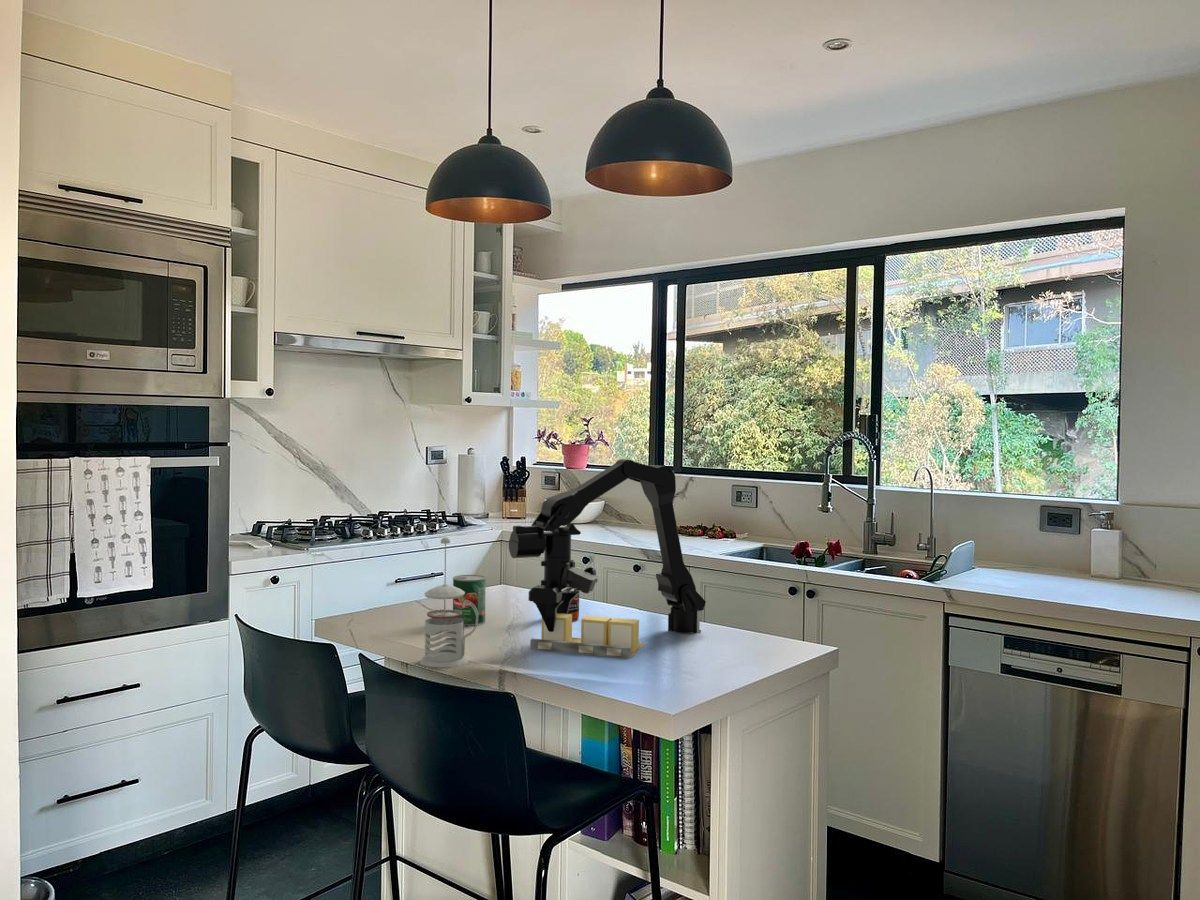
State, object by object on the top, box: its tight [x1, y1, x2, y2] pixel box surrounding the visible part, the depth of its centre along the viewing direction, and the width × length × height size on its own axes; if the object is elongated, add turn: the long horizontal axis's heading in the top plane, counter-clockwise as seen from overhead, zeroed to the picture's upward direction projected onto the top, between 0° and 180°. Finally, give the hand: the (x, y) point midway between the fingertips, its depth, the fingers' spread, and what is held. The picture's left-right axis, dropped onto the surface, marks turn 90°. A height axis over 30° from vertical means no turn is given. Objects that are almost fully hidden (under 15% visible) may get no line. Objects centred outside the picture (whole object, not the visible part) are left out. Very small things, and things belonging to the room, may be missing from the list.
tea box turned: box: [541, 613, 573, 642], centre depth 191 cm, size 6×4×6 cm
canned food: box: [568, 588, 580, 622], centre depth 220 cm, size 8×8×11 cm
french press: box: [419, 537, 479, 668], centre depth 178 cm, size 10×12×25 cm
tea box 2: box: [608, 617, 640, 652], centre depth 186 cm, size 6×4×6 cm
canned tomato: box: [452, 574, 487, 626], centre depth 214 cm, size 8×8×11 cm
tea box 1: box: [580, 615, 613, 645], centre depth 188 cm, size 6×4×6 cm
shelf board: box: [529, 636, 646, 660], centre depth 188 cm, size 22×13×3 cm, turn 73°
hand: (556, 628), depth 191 cm, fingers open, 7 cm apart
